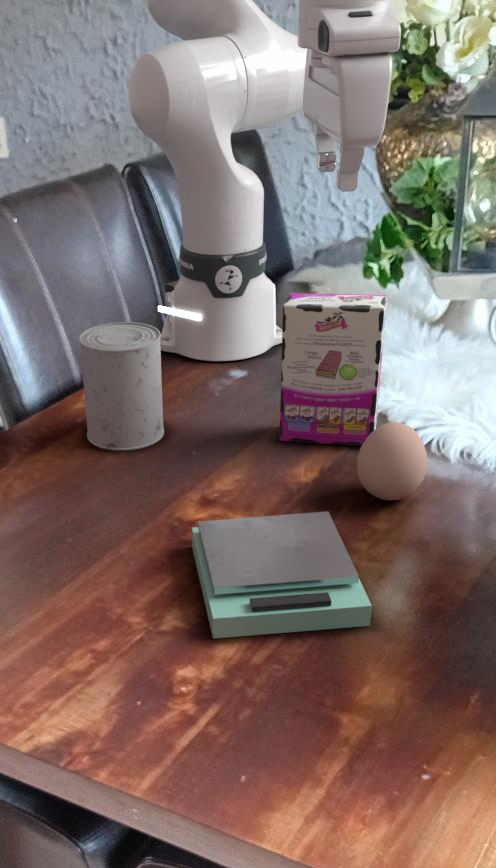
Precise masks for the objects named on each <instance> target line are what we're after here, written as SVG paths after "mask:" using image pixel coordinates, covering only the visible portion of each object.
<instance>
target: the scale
mask: <svg viewBox="0 0 496 868" xmlns="http://www.w3.org/2000/svg"><path fill="white" fill-rule="evenodd" d="M191 546H192V553H193V557H194V561H195V566H196V570H197V574H198V579H199V583H200V588H201V591H202V598H203V600H204V605H205V609H206V614H207V618H208V622H209V627H210V632H211V637H212V639H214V640H215V639H225V638H238V637H250V636H251V637H252V636H262V635H275V634H286V633H287V634H288V633H300V632H311V631H323V630H324V631H325V630H335V629H348V628H361V627H370V625H371V616H372V608H373V606H372V604H371V601H370V598H369V596H368V594H367V593H366V592H367V591H366V590H365V588H364V586H363V583H362V582H361V580H360V578H358V583H355V584H343V585H331V586H318V587H306V588H293V589H281V590H269V591H256V592H244V593H232V594H219V595H214V593H213V589H212V585H211V581H210V576H209V572H208V568H207V564H206V560H205V556H204V552H203V548H202V543H201V539H200V535H199V531H198V526H194V527H191Z"/></svg>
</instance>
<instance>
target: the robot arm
mask: <svg viewBox="0 0 496 868" xmlns="http://www.w3.org/2000/svg"><path fill="white" fill-rule="evenodd" d="M144 2H145V4H146V7H147V11H148V12H149V14H150V16H151V18H152V19H153V21H154V22H155V23H156V25H158V26H159V27H160V28H161V29H163V30H165V31H166V32H168V33H169V34H170V35H171V34H172V35H173V36H175V37H177V38H179V39H181V40H178V41H174V42H171V43H168V44H165V45H163V46H159V47H157V48H155V49H153V50H150V51H148V52H146V53H143V54H142V55H140V56H139V58H137V60H136V62H135V64H134V66H133V67H132V70H131V73H130V76H129V81H128V86H127V99H128V101H127V102H128V107H129V110H130V114H131V117H132V118H133V120H134V123H135V125H136V126H137V127H138V129H139V131H141V132H142V134H144V135H145V137H147V138H148V139H149V140H151V141H152V142H154V143H155V144H156V145H157V146H158V147H159V148H160V149H161V150H162V152H163V153H164V155H165V156H166V159H167V160H168V161H169V163H170V165H171V167H172V170H173V172H174V174H175V175H174V176H175V178H176V181H177V182H176V183H177V186H178V191H179V199H180V210H181V227H182V244H181V245H180V247H179V255H178V263H179V273H180V275H179V279H177V280H173V281H171V282H167V283H166V282H165V284H164V288H165V294H164V295H165V296H164V297H165V298H164V299H165V301H164V302H165V303H164V304H165V305H164V306H163V305H158V306H157V312H159V313H161V314H162V313H163V314H166V316H165V320H164V322H163V326H162V330H161V332H160V334H161V337H160V350H161V351H162V352H167V353H173V354H178V355H181V356H184V357H187V358H189V359H194V360H199V361H206V362H207V361H208V362H230V361H239V360H246V359H250V358H253V357H257V356H261V355H262V354H264V353H266V352H267V351H269V350H270V349H271V348H273V347H274V346H278V345H281V344H282V328H280V326H279V325H277V310H276V309H277V305H276V300H277V299H276V297H277V296H276V295H277V294H276V285H275V283H274V282H273V281H272V280H271V279H270V278H269V277H268V276H267V275H266V273H265V271H266V268H267V267H266V265H267V263H266V262H267V255H268V254H267V247H266V246H267V245H266V242H265V241H264V211H265V210H264V209H265V208H264V206H265V205H264V203H265V189H264V186H263V183H262V181H261V179H260V178H259V176H258V175H257V174H256V173H255V172H254V170H252V169H250V168H249V167H247V166H245V165H243V164H242V163H240V162H237V160H236V159H235V156H234V153H233V147H232V139H231V138H232V137H231V136H232V134H234V133H235V134H236V133H241V132H248V131H253V130H259V129H265V128H270V127H273V126H275V125H277V124H280V123H283V122H285V121H287V120H289V119H291V118H293V117H296V116H297V115H299V114H300V113H302V112H303V115H304V117H305V118H306V119H307V120H309V121H310V122H311V123H313V124H314V129H313V130H314V132H313V133H314V141H315V149H316V165H315V166H316V169H317V170H318V171H319V172H321V173H333V172H334V171H335V170H336V168H337V153H336V142H337V143H338V144H339V152H338V153H339V154H340V157H339V166H338V169H337V170H336V182H335V184H336V187H337V188H338V190H339V191H340V192H342V193H345V192H355V191H356V190H357V188H358V182H359V171H360V168H361V165H362V162H363V159H364V156H365V148H369V147H376V146H378V145H379V143H380V142H381V139H382V136H383V133H384V131H385V126H386V121H387V116H388V115H387V114H388V109H389V108H388V107H389V101H390V93H391V85H392V76H393V58H392V55H391V53H397V52H398V51H399V49H400V46H401V36H402V27H401V24H400V22H399V20H398V18H397V16H396V13H395V0H298V20H297V35H296V34H293V33H292V32H290V31H288V30H286V29H284V28H283V27H281V26H280V25H278V24H277V23H275V22H274V21H273V20H272V19H271V18H270V17H269V16H267V14H265V12H263V10H261V9H260V7H259V6H258V5H257V4H256V3H255V2H254V0H144Z"/></svg>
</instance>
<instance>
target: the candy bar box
mask: <svg viewBox="0 0 496 868" xmlns="http://www.w3.org/2000/svg"><path fill="white" fill-rule="evenodd" d="M387 305H388V295H387V294H361V293H360V294H358V293H310V292H308V293H307V292H299V293H298V292H289V294H288V297H287V299H286V301H285V302H284V304H283V306H282V322H281V325H282V326H281V327H282V328H281V329H282V343H281V367H280V371H281V372H280V399H279V400H280V403H279V407H280V408H279V429H278V430H279V431H278V433H279V434H278V435H279V436H278V437H279V441H282V442H290V443H306V444H307V443H308V444H322V445H324V444H325V445H338V446H339V445H340V446H355V447H356V446H357V447H361V446H362V445H363V443H364V442H365V440H366V439H367V437H368V436H369V435H370V434H371V433H372V432H373V431H374V430H375V429H376V428H377V425H378V424H377V423H378V409H379V399H380V389H381V388H380V387H381V374H382V363H383V350H384V341H385V340H384V339H385V327H386V316H387Z"/></svg>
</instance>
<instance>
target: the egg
mask: <svg viewBox="0 0 496 868" xmlns="http://www.w3.org/2000/svg"><path fill="white" fill-rule="evenodd" d="M427 470H428V453H427V449H426V447H425V445H424V441H423V439H422V438H421V437H420V435H419V434H418V433H417V431H416V430H415V429H413V428H412V427H411V426H409V425H408V424H405V423H402V422H397V421H395V422H394V421H393V422H387V423H384V424H381V425H380V426H378V427H376V429H375V430H374V431H373V432H372V433H371V434H370V435H369V436H368V437H367V439H366V440H365V442H364V443H363V445H362V446H360V448H359V452H358V454H357V461H356V472H357V476H358V479H359V482H360V484H361V485H362V487H363V488H364V489H365V490H366V491H367V492H368V493H369V494H371V496H373V497H375V498H377V499H380V500H383V501H398V500H402V499H403V498H406V497H408V496H409V495H411V494H412V493H414V492H415V491H416V490H417V489H418V487H420V485H421V484H422V482H423V481H424V478H425V476H426V474H427Z"/></svg>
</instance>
